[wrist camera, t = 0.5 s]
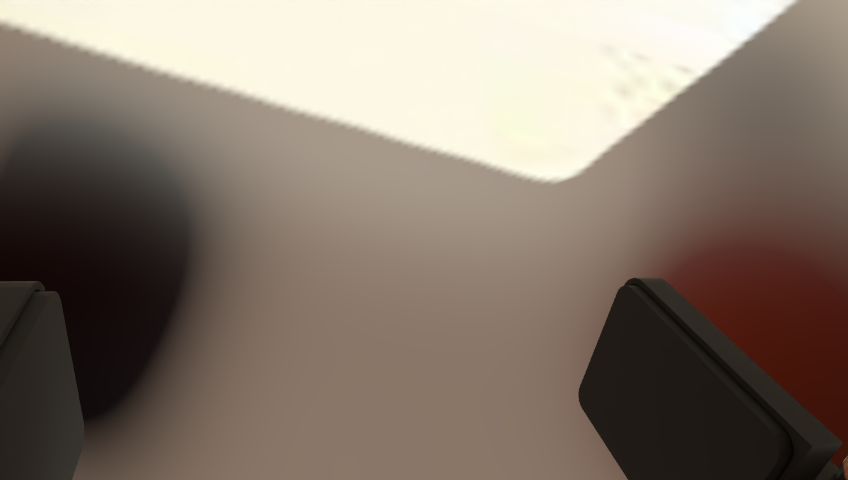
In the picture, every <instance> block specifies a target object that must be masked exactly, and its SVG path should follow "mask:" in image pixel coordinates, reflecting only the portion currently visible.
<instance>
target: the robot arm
mask: <svg viewBox="0 0 848 480" xmlns="http://www.w3.org/2000/svg"><path fill="white" fill-rule="evenodd" d="M579 402H580V405H581V407H582V409H583V410H584V412H585V413H586V415H587V417H588V418H589V420H590V421H591V423H592V424H593V426H594V428H595V429H596V431H597V432H598V434H599V435H600V437H601V438H602V440H603V441H604V443H605V444H606V446H607V448H608V449H609V451H610V452H611V454H612V455H613V457H614V459H615V460H616V462H617V463H618V465H619V466H620V468H621V469H622V471H623V472H624V474H625V476H626V477H627V479H628V480H848V456H847V458H846V459H845V460H844V461H843V463H842V464H841V465H840V467H839V468H838V467H837V466H836V465H835V464H834V463H833V462H832V461H831V460H830V459H831V457H832V456H833V455H834V453H835V452H836V451H837V449H838V448H839V447H840V445H841V444H842V442H841V441H840V440H839V439H838V438H837V437H836V436H834V435H833V434H832V433H831V432H830V431H829V430H828V429H827V428H826V427H825V426H824V425H823V424H821V423H820V422H819V421H818V420H817V419H816V418H815V417H814V416H812V414H810V413H809V412H808V411H807V410H806V409H805V408H804V407H803V406H802V405H801V404H800V403H799V402H797V401H796V400H795V399H794V398H793V397H792V396H791V395H790V394H789V393H788V392H787V391H785V390H784V389H783V388H782V387H781V386H780V385H779V384H778V383H777V382H776V381H774V380H773V379H772V378H771V377H770V376H769V375H768V374H767V373H766V372H764V370H762V369H761V368H760V367H759V366H758V365H757V364H756V363H755V362H754V361H753V360H751V359H750V358H749V357H748V356H747V355H746V354H745V353H744V352H743V351H742V350H741V349H740V348H738V347H737V346H736V345H735V344H734V343H733V342H732V341H731V340H730V339H729V338H727V337H726V336H725V335H724V334H723V333H722V332H721V331H720V330H719V329H718V328H717V327H715V326H714V325H713V324H712V323H711V322H710V321H709V320H708V319H707V318H706V317H704V316H703V315H702V314H701V313H700V312H699V311H698V310H697V309H696V308H695V307H694V306H692V305H691V304H690V303H689V302H688V301H687V300H686V299H685V298H684V297H683V296H682V295H681V294H679V293H678V292H677V291H676V290H675V289H674V288H673V287H672V286H671V285H670V284H668V283H667V282H666V281H665V280H663V279H661V278H632V279H629V280H628V281H627V282H626V283H625V285H624V286H622V287H621V288H620V289H619V290H618V292H617V294H616V297H615V299H614V302H613V304H612V307H611V310H610V312H609V315H608V317H607V320H606V322H605V325H604V327H603V330H602V332H601V335H600V337H599V340H598V342H597V345H596V348H595V350H594V352H593V355H592V357H591V360H590V363H589V365H588V368H587V370H586V373H585V375H584V378H583V380H582V383H581V385H580V388H579ZM83 440H84V423H83V418H82V412H81V407H80V402H79V397H78V391H77V386H76V380H75V375H74V370H73V364H72V359H71V354H70V348H69V343H68V338H67V332H66V327H65V322H64V316H63V311H62V305H61V301H60V297H59V295H58V293H57V292H45V288H44V286H43V285H42V283H40V282H37V281H32V282H31V281H30V282H0V480H72V478H73V475H74V472H75V469H76V466H77V463H78V460H79V456H80V454H81V450H82V446H83Z"/></svg>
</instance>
